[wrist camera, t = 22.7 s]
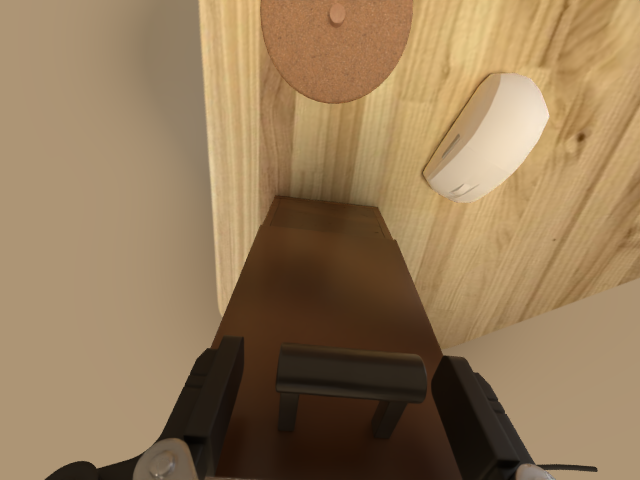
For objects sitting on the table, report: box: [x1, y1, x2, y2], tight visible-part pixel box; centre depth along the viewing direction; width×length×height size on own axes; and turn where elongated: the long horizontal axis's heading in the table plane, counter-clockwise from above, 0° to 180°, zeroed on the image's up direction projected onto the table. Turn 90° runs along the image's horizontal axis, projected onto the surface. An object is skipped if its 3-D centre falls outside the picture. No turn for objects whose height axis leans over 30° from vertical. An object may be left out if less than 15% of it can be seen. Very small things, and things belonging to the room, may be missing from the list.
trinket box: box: [260, 0, 413, 104], centre depth 22 cm, size 11×11×9 cm
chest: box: [262, 196, 393, 239], centre depth 34 cm, size 18×13×9 cm
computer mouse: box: [423, 73, 549, 203], centre depth 28 cm, size 6×13×6 cm, turn 154°
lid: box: [204, 225, 463, 480], centre depth 17 cm, size 18×13×5 cm
